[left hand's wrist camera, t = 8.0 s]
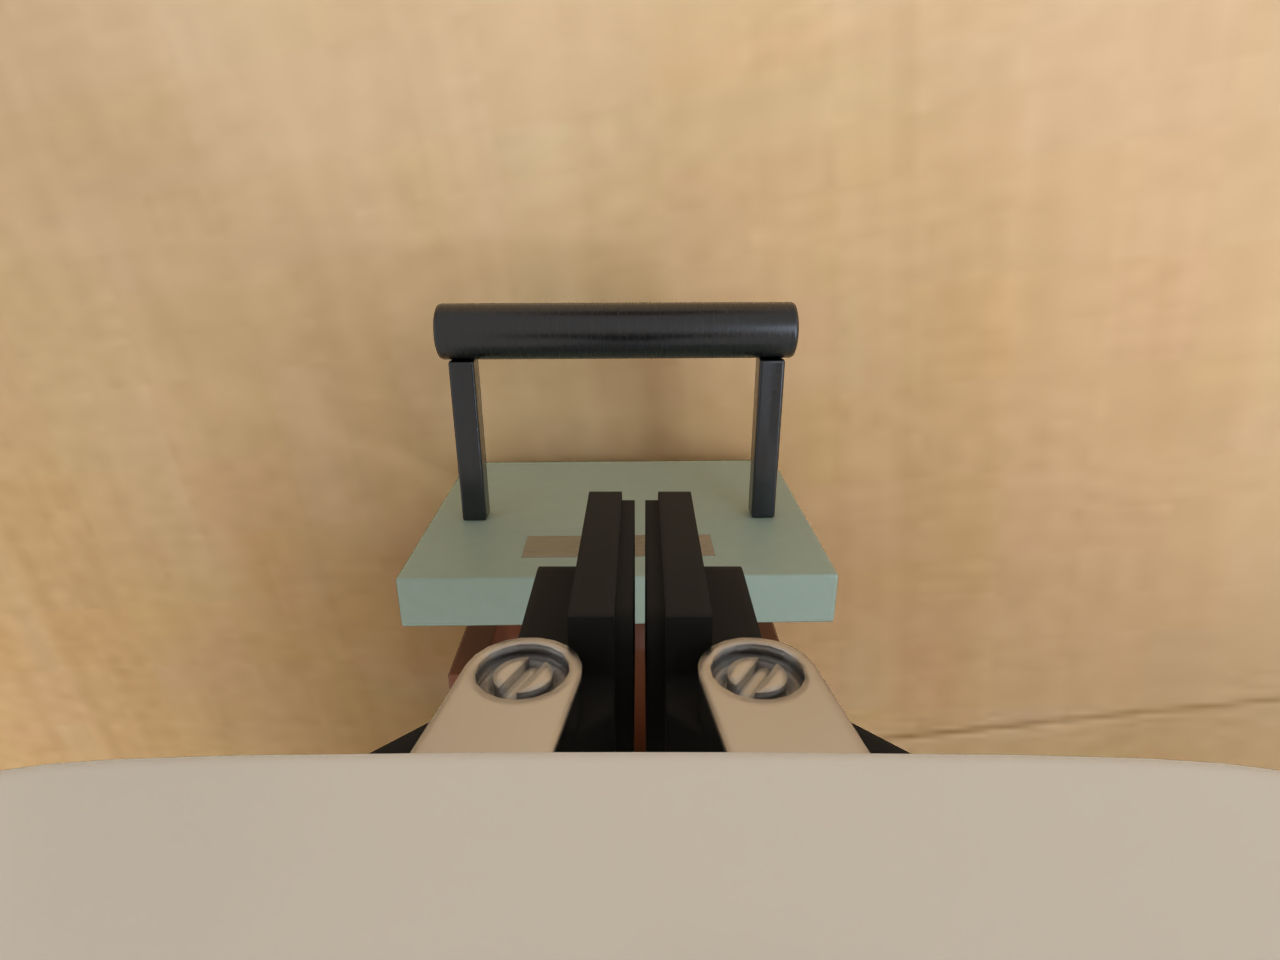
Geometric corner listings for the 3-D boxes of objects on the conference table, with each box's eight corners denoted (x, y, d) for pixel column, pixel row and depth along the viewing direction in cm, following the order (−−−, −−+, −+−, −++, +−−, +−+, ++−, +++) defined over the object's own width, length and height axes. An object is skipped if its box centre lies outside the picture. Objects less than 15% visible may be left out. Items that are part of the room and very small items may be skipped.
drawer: (450, 284, 21) (360, 326, 14) (785, 283, 21) (865, 324, 14) (504, 882, 29) (464, 1103, 22) (746, 878, 29) (784, 1096, 22)
